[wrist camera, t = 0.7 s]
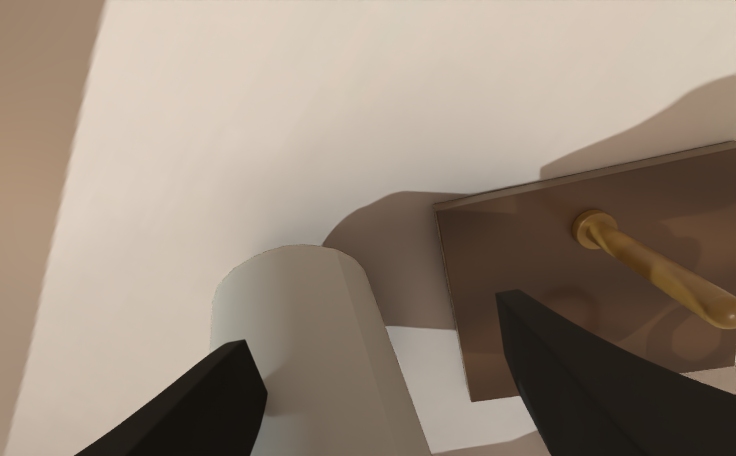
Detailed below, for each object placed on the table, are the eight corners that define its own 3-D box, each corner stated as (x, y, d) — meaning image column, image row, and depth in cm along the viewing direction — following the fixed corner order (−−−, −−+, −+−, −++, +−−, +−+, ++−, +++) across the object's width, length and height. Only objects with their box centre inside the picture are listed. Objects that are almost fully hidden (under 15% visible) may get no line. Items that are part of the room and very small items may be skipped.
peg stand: (716, 351, 20) (945, 527, 12) (467, 387, 22) (514, 562, 14) (734, 140, 17) (1088, 181, 8) (432, 204, 18) (469, 291, 10)
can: (188, 319, 18) (150, 705, 9) (255, 210, 15) (290, 643, 6) (317, 337, 22) (372, 614, 13) (390, 255, 19) (523, 549, 10)
